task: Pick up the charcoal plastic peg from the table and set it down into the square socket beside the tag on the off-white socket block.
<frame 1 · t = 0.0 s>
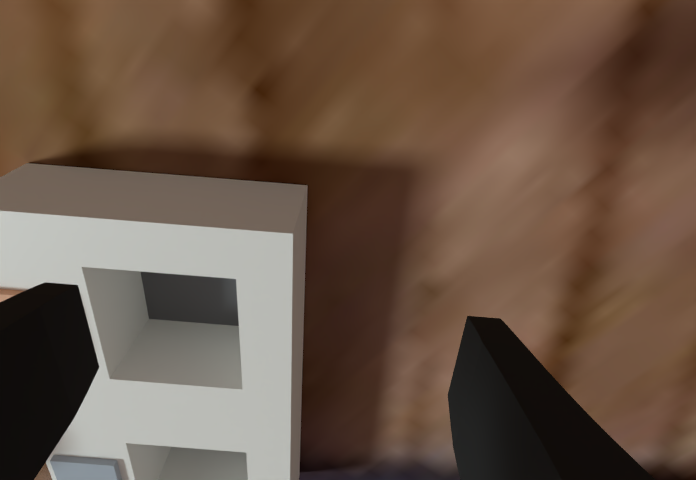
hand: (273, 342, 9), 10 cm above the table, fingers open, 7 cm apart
socket block: (189, 348, 22), on the table
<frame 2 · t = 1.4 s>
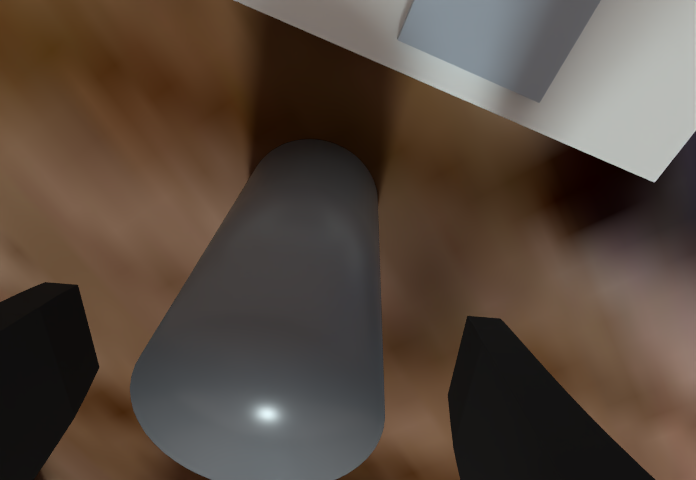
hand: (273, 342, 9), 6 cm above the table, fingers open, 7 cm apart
peg: (312, 202, 14), on the table
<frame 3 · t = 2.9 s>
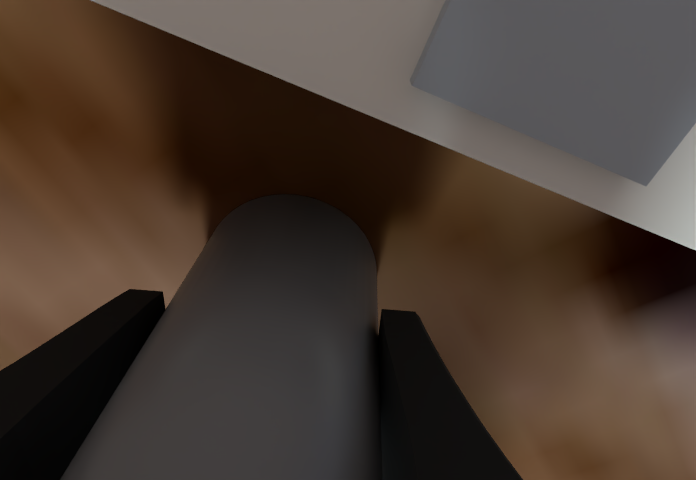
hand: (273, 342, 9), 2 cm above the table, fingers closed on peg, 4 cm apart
peg: (291, 272, 11), on the table, touching gripper
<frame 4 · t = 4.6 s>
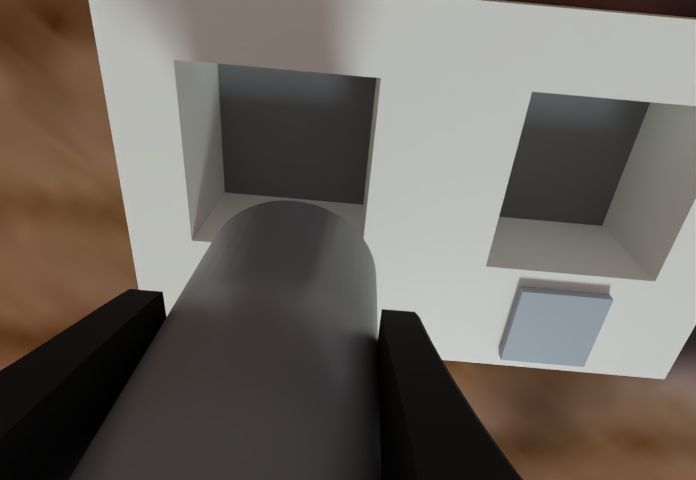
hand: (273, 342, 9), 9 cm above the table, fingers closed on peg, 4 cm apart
peg: (291, 277, 11), point 7 cm above the table, touching gripper
socket block: (419, 165, 17), on the table
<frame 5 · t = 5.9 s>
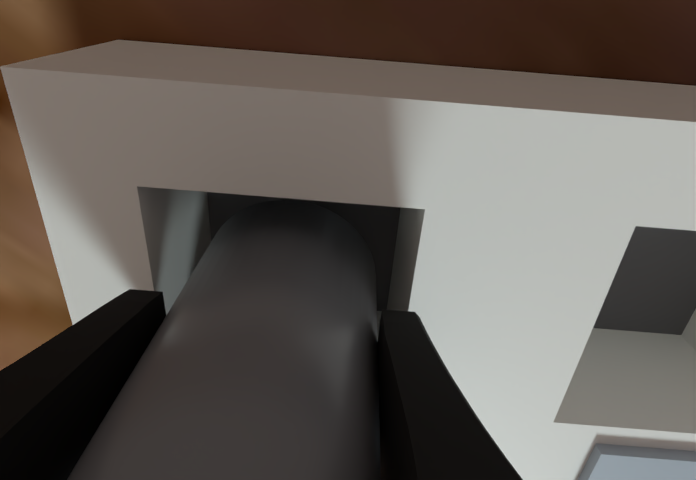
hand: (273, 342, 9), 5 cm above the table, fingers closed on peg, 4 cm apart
peg: (291, 276, 11), point 2 cm above the table, touching gripper
socket block: (456, 266, 14), on the table
when the fingers open (5 cm above the table, at t = 6.6 s): peg drops 2 cm, resting on socket block.
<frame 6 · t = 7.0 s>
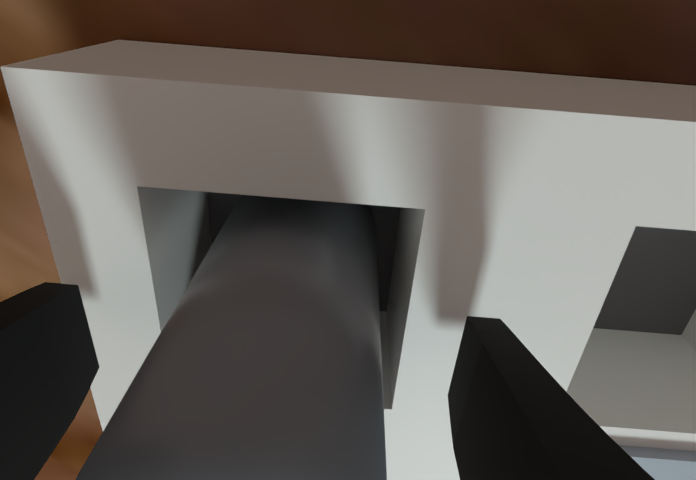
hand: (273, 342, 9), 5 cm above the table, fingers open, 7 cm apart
peg: (304, 233, 13), resting on socket block
socket block: (456, 266, 14), on the table
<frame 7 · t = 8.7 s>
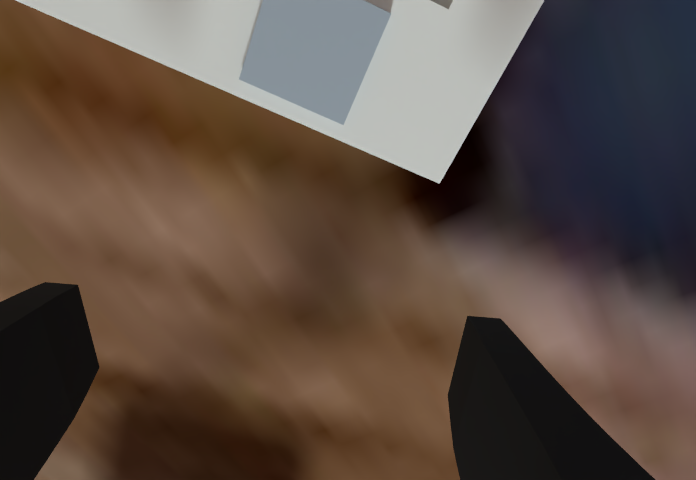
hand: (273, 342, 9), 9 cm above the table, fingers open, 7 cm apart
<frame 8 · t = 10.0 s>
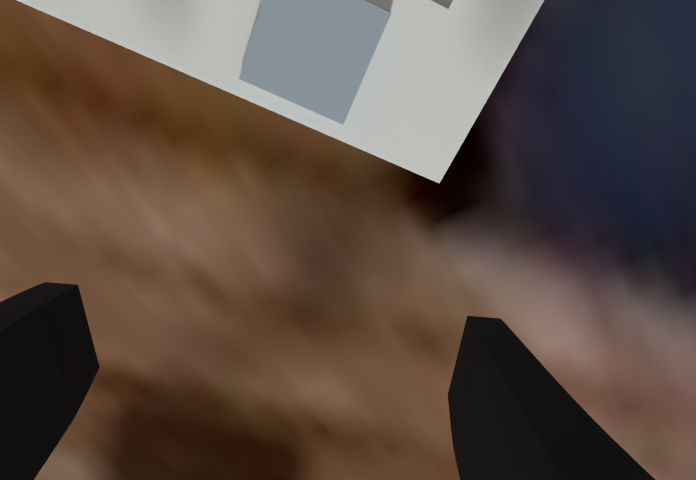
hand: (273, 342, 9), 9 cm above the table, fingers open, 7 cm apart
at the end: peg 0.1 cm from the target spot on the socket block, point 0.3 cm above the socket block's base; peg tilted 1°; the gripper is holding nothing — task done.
